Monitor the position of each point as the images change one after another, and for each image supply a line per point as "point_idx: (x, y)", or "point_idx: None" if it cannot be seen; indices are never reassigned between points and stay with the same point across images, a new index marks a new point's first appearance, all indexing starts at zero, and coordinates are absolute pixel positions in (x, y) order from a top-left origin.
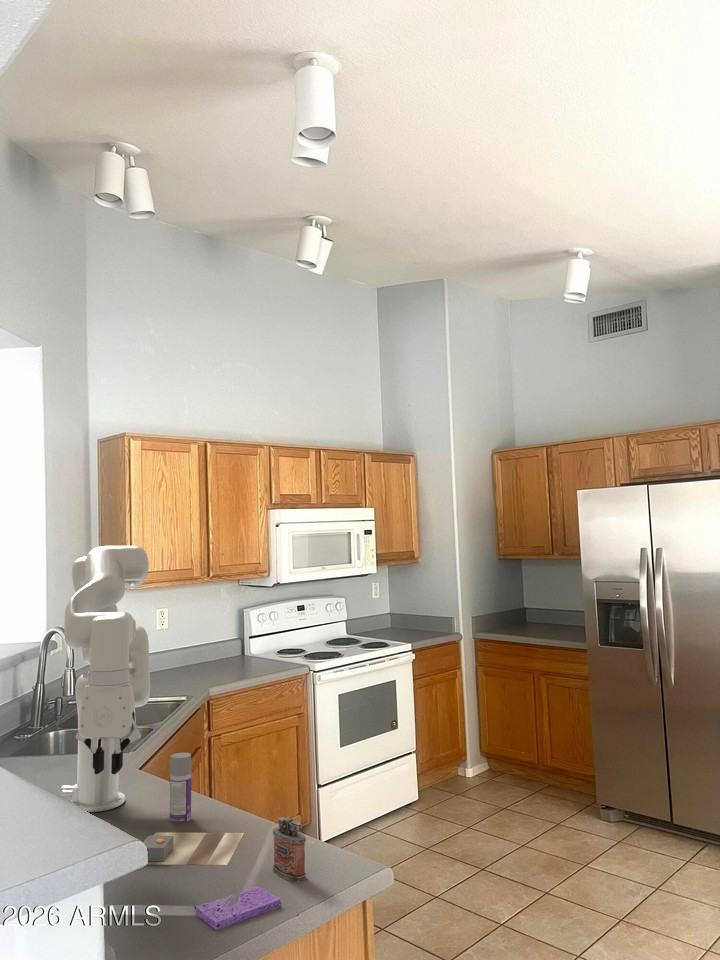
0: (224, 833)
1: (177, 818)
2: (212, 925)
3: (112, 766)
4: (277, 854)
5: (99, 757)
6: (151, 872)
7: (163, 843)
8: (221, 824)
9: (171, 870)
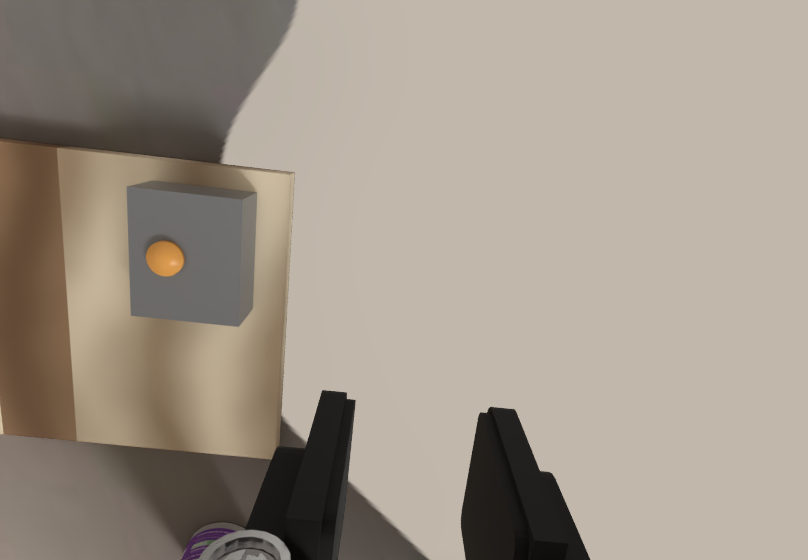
0: (5, 429)
1: None
2: None
3: (337, 428)
4: None
5: (502, 532)
6: (202, 148)
7: (145, 234)
8: (76, 542)
9: None
